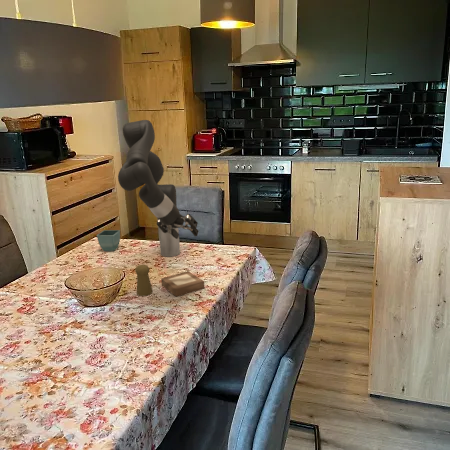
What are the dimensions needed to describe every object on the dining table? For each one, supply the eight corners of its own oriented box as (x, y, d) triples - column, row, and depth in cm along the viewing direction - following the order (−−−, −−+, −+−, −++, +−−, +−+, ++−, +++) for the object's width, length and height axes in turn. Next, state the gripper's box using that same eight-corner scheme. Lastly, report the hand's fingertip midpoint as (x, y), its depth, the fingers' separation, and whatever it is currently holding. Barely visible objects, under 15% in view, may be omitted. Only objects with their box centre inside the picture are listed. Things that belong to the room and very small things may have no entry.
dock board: (161, 285, 173) (161, 278, 172) (188, 278, 179) (188, 270, 178) (176, 296, 162) (175, 289, 161) (204, 288, 168) (204, 280, 167)
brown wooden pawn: (155, 292, 167) (153, 265, 164) (143, 297, 163) (140, 269, 160) (146, 288, 171) (143, 261, 168) (133, 293, 167) (130, 266, 164)
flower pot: (98, 252, 215) (96, 235, 213) (106, 246, 223) (103, 230, 221) (115, 252, 214) (113, 235, 211) (122, 247, 222) (120, 230, 219)
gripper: (183, 196, 149) (206, 225, 160) (150, 202, 156) (174, 229, 167) (177, 214, 145) (201, 242, 155) (143, 219, 151) (168, 245, 162)
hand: (187, 235), depth 161 cm, fingers open, 8 cm apart
